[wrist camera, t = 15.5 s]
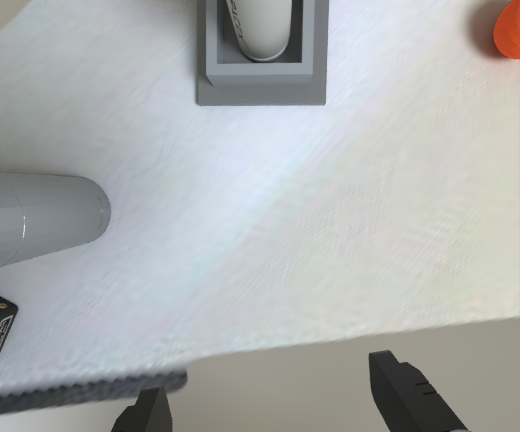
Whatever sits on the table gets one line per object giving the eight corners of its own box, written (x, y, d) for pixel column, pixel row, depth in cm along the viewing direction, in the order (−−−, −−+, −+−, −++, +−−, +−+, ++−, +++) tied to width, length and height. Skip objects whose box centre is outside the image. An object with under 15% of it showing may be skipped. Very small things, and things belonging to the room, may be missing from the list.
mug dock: (200, 105, 40) (188, 93, 35) (199, -26, 39) (187, -57, 34) (324, 105, 39) (330, 93, 34) (328, -30, 38) (336, -63, 33)
